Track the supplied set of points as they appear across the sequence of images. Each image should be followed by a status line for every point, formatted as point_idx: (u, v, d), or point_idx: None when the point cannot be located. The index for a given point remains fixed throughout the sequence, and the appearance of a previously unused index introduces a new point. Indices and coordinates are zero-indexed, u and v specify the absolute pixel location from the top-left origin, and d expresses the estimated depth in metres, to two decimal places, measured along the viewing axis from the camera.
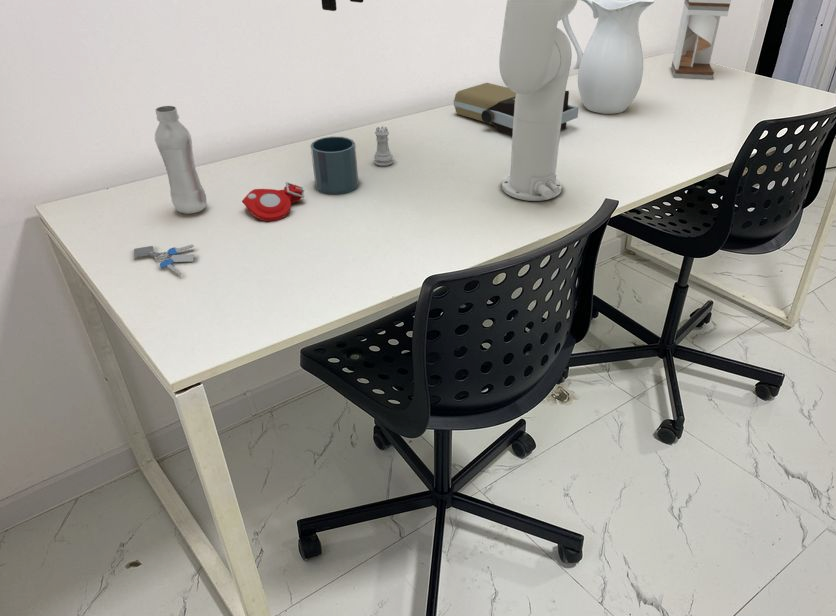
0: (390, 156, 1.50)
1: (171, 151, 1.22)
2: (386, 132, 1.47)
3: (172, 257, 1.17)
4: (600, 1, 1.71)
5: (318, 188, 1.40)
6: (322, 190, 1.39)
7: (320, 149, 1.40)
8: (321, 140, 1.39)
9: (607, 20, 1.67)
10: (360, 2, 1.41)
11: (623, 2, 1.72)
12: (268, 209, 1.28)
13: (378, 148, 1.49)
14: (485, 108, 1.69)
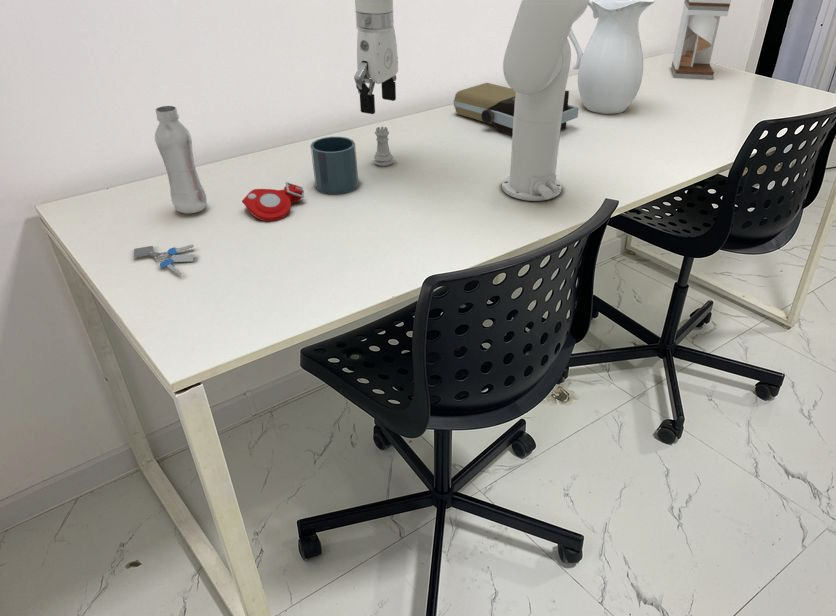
0: (390, 156, 1.50)
1: (171, 151, 1.22)
2: (386, 132, 1.47)
3: (172, 257, 1.17)
4: (600, 1, 1.71)
5: (318, 188, 1.40)
6: (322, 190, 1.39)
7: (320, 149, 1.40)
8: (321, 140, 1.39)
9: (607, 20, 1.67)
10: (393, 100, 1.47)
11: (623, 2, 1.72)
12: (268, 209, 1.28)
13: (378, 148, 1.49)
14: (485, 108, 1.69)
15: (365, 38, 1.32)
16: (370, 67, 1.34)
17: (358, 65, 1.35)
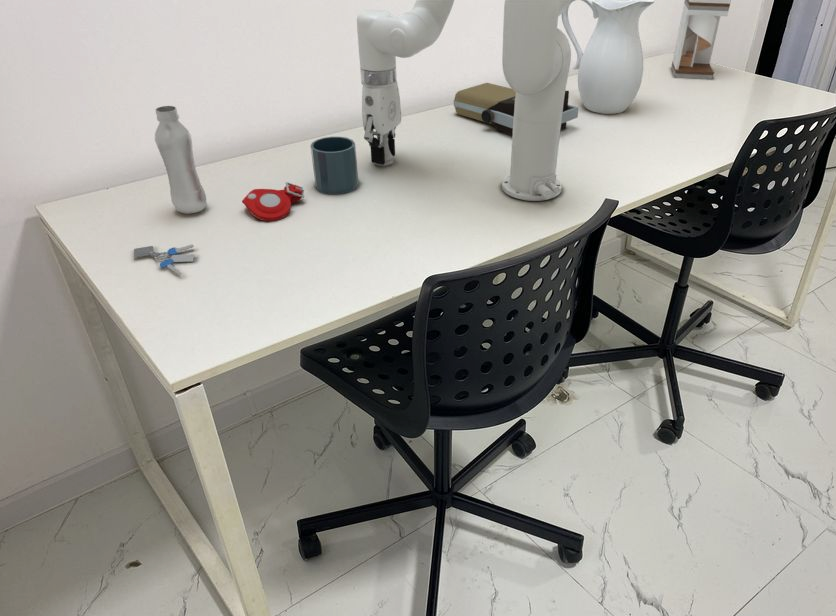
0: (390, 156, 1.50)
1: (171, 151, 1.22)
2: None
3: (172, 257, 1.17)
4: (600, 1, 1.71)
5: (318, 188, 1.40)
6: (322, 190, 1.39)
7: (320, 149, 1.40)
8: (321, 140, 1.39)
9: (607, 20, 1.67)
10: None
11: (623, 2, 1.72)
12: (268, 209, 1.29)
13: None
14: (485, 108, 1.69)
15: (370, 93, 1.38)
16: (375, 120, 1.41)
17: (363, 118, 1.42)
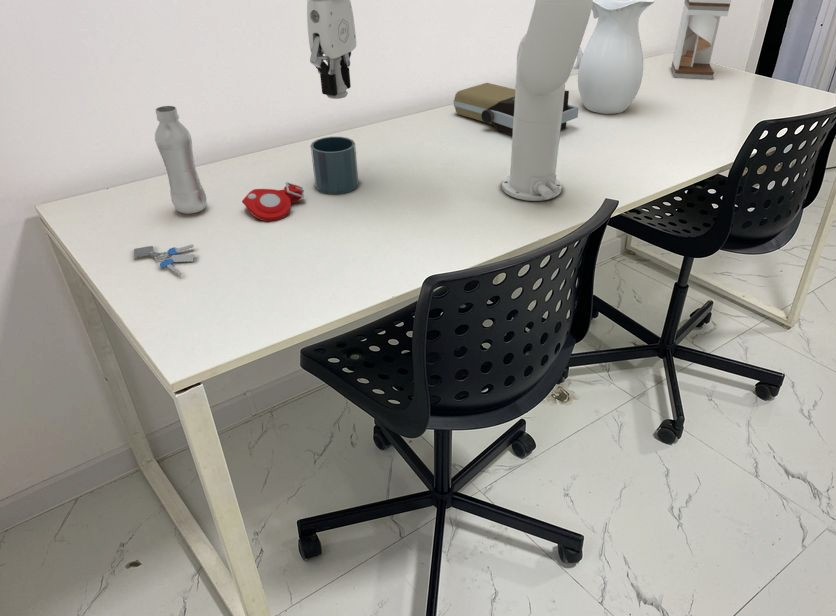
0: (343, 87, 1.31)
1: (171, 151, 1.22)
2: (338, 57, 1.28)
3: (172, 257, 1.17)
4: (600, 1, 1.71)
5: (318, 188, 1.40)
6: (322, 190, 1.39)
7: (320, 149, 1.40)
8: (321, 140, 1.39)
9: (607, 20, 1.67)
10: (347, 88, 1.34)
11: (623, 2, 1.72)
12: (268, 209, 1.29)
13: None
14: (485, 108, 1.69)
15: (315, 7, 1.19)
16: (322, 40, 1.22)
17: (309, 38, 1.23)
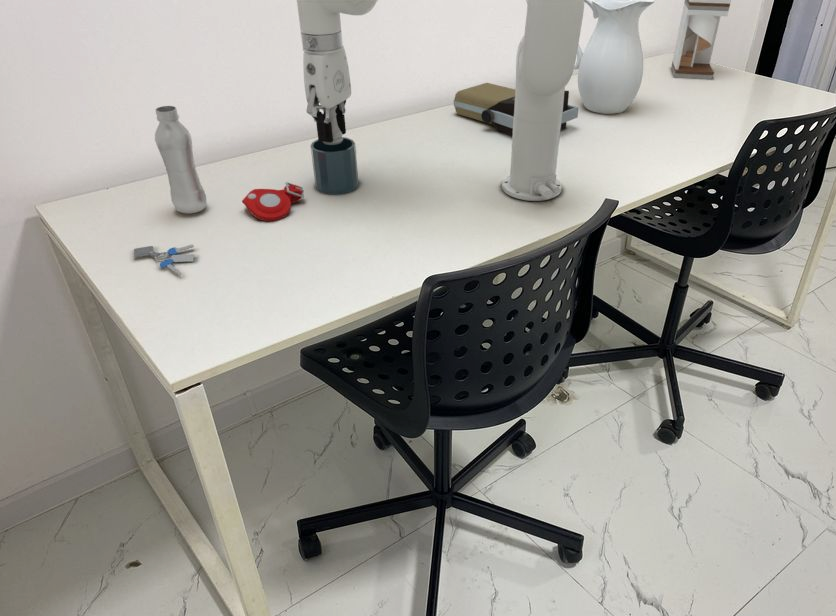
0: (339, 133, 1.35)
1: (171, 151, 1.22)
2: None
3: (172, 257, 1.17)
4: (600, 1, 1.71)
5: (318, 188, 1.40)
6: (322, 190, 1.39)
7: (320, 149, 1.40)
8: None
9: (607, 20, 1.67)
10: None
11: (623, 2, 1.72)
12: (268, 208, 1.29)
13: None
14: (485, 108, 1.69)
15: (311, 61, 1.23)
16: (318, 91, 1.25)
17: (306, 89, 1.26)
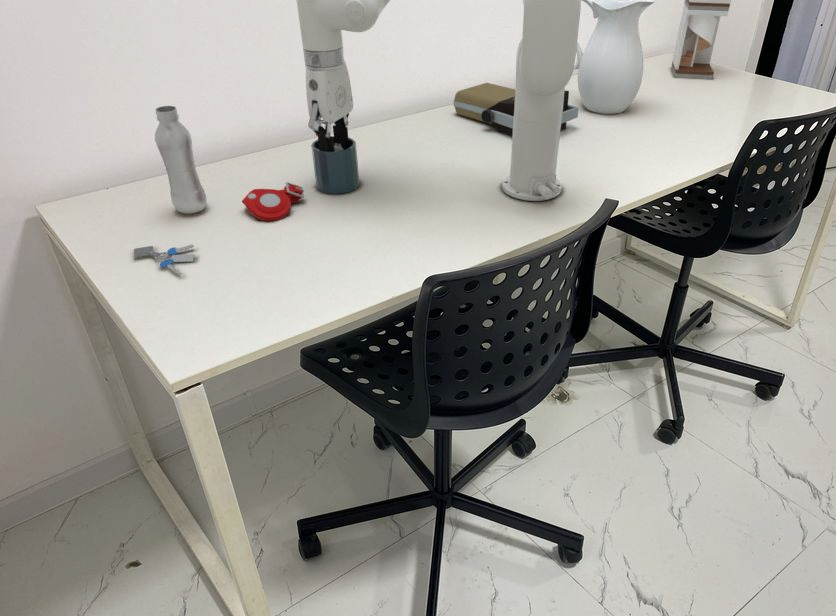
0: None
1: (171, 151, 1.22)
2: (340, 149, 1.37)
3: (172, 257, 1.17)
4: (600, 1, 1.71)
5: (319, 188, 1.40)
6: (323, 190, 1.39)
7: None
8: None
9: (607, 20, 1.67)
10: (346, 146, 1.39)
11: (623, 2, 1.72)
12: (268, 208, 1.29)
13: None
14: (485, 108, 1.69)
15: (313, 77, 1.24)
16: (320, 107, 1.27)
17: (308, 105, 1.28)
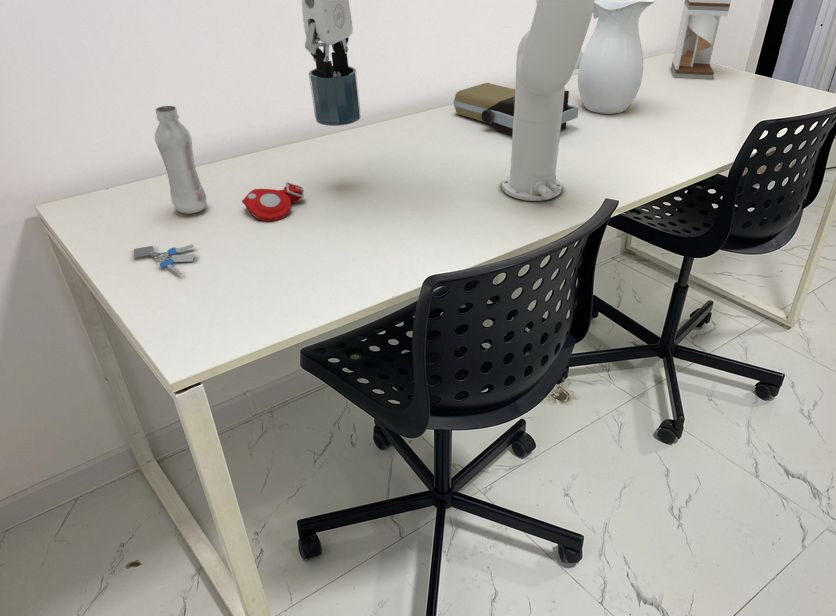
0: None
1: (171, 151, 1.22)
2: None
3: (172, 257, 1.17)
4: (600, 1, 1.71)
5: (318, 120, 1.31)
6: (322, 122, 1.31)
7: None
8: None
9: (607, 20, 1.67)
10: None
11: (623, 2, 1.72)
12: (268, 208, 1.29)
13: None
14: (485, 108, 1.69)
15: None
16: (318, 26, 1.19)
17: (304, 25, 1.20)
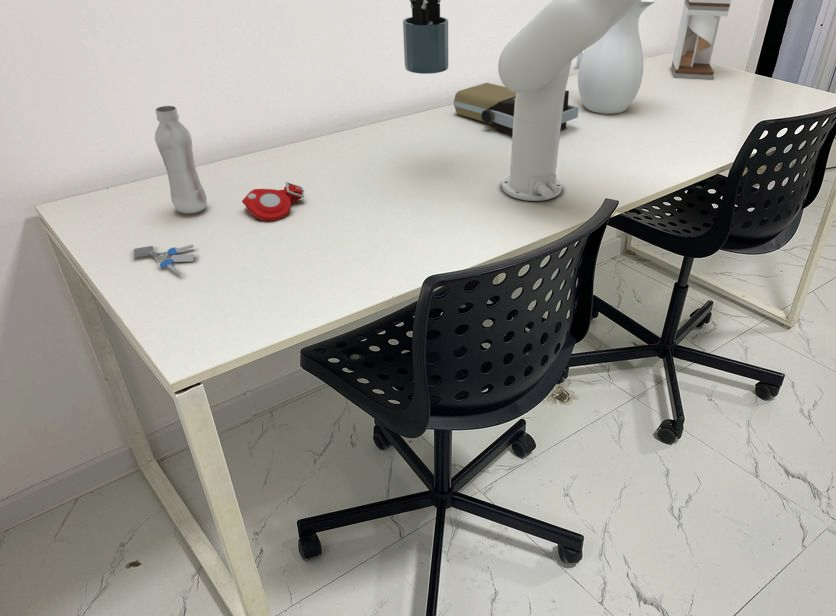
0: None
1: (171, 151, 1.22)
2: None
3: (172, 257, 1.17)
4: None
5: (409, 68, 1.35)
6: (413, 70, 1.35)
7: None
8: None
9: None
10: None
11: None
12: (268, 208, 1.29)
13: None
14: (485, 108, 1.69)
15: None
16: None
17: None
